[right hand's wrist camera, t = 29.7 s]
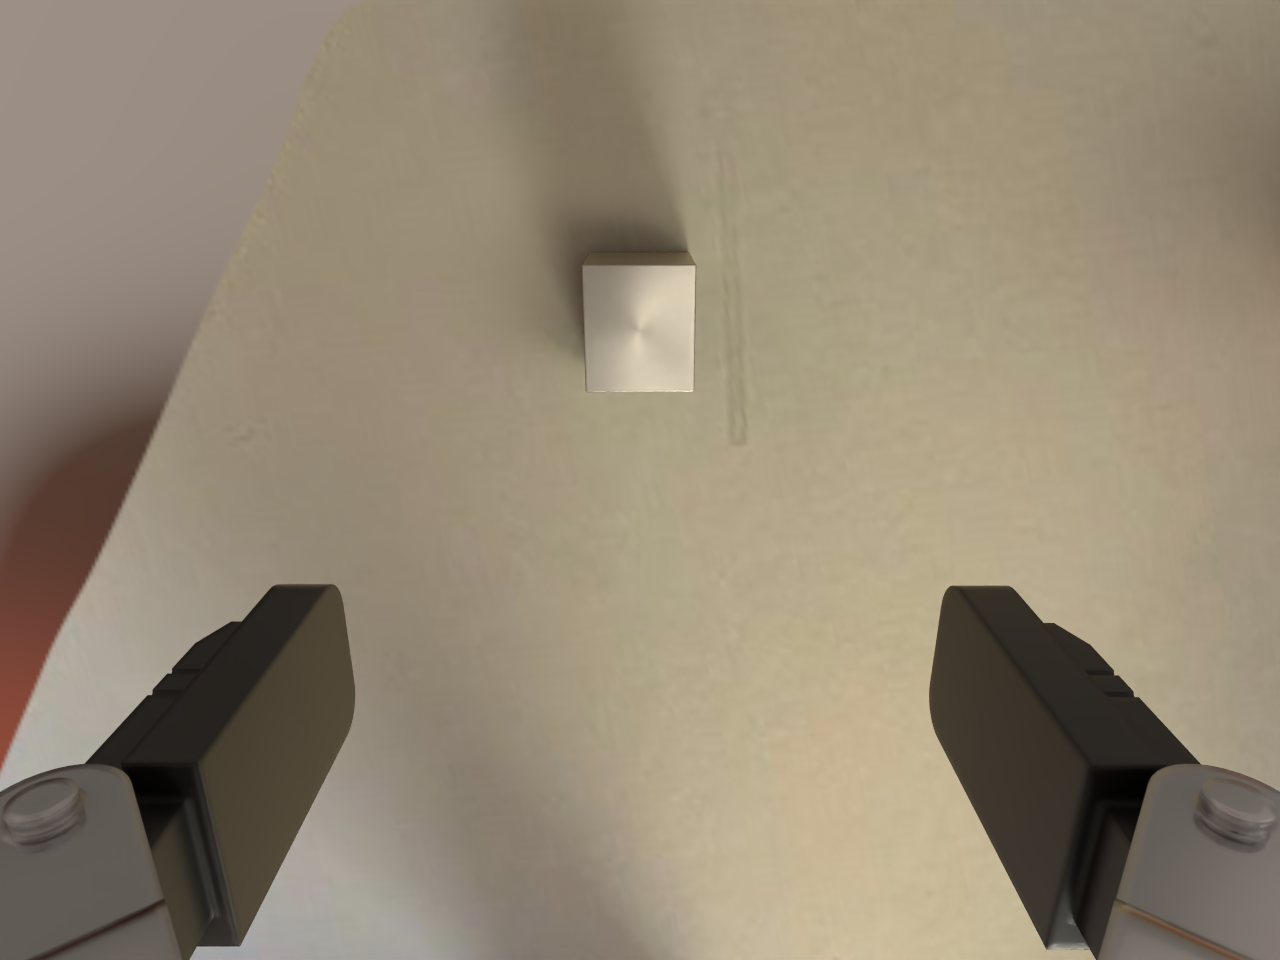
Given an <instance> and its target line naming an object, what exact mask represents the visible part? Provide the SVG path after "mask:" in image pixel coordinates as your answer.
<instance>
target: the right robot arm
mask: <svg viewBox="0 0 1280 960" xmlns="http://www.w3.org/2000/svg"><path fill="white" fill-rule="evenodd" d="M1133 693H1134V692H1133V691H1132V689H1131V688H1130V687H1129V686H1128V685H1127V684H1126V683H1125V682H1124V681H1123V680H1122V679H1121V678H1120V677H1119V676H1114V670H1113V669H1112V668H1111V667H1110V666H1109V665H1108V664H1107V662H1106V661H1105V660H1104V659H1103V658H1102V657H1101V656H1100V655H1099V654H1098V653H1097V652H1096V651H1095V650H1094V648H1093V647H1092V646H1091V645H1090V644H1088V643H1086V642H1085V641H1083V640H1081V639H1080V638H1078V637H1076V636H1075V635H1073V634H1071V633H1070V632H1068V631H1066V630H1065V629H1063V628H1061V627H1060V626H1058V625H1056V624H1055V623H1043V622H1042V621H1041V620H1040V618H1039V617H1038V616H1037V615H1036V614H1035V613H1034V612H1033V610H1032V609H1031V608H1030V607H1029V606H1028V605H1027V604H1026V602H1025V601H1024V600H1023V599H1022V598H1021V597H1020V595H1019V594H1018V593H1017V592H1016V591H1015V590H1014V589H1013V588H1012V587H1010V586H950V587H949V588H948V589H947V590H946V592H945V594H944V597H943V600H942V605H941V612H940V619H939V626H938V633H937V640H936V647H935V653H934V660H933V667H932V674H931V681H930V689H929V703H930V713H931V719H932V723H933V727H934V730H935V733H936V735H937V737H938V739H939V741H940V743H941V745H942V747H943V749H944V751H945V753H946V755H947V757H948V759H949V761H950V763H951V765H952V767H953V769H954V771H955V773H956V774H957V776H958V778H959V780H960V782H961V784H962V786H963V788H964V790H965V792H966V794H967V796H968V798H969V800H970V802H971V804H972V806H973V807H974V809H975V811H976V813H977V815H978V817H979V819H980V821H981V823H982V825H983V827H984V829H985V831H986V833H987V835H988V837H989V839H990V841H991V842H992V844H993V846H994V848H995V850H996V852H997V854H998V856H999V858H1000V860H1001V862H1002V864H1003V866H1004V868H1005V870H1006V872H1007V874H1008V876H1009V877H1010V879H1011V881H1012V883H1013V885H1014V887H1015V889H1016V891H1017V893H1018V895H1019V897H1020V899H1021V901H1022V903H1023V905H1024V907H1025V909H1026V910H1027V912H1028V914H1029V916H1030V918H1031V920H1032V922H1033V924H1034V926H1035V928H1036V930H1037V932H1038V934H1039V936H1040V938H1041V940H1042V942H1043V944H1044V945H1045V947H1046V949H1047V950H1091V952H1092V953H1093V955H1094V957H1095V959H1096V960H1280V792H1279V791H1277V790H1275V789H1274V788H1272V787H1270V786H1268V785H1266V784H1264V783H1262V782H1260V781H1258V780H1255V779H1253V778H1250V777H1248V776H1245V775H1243V774H1240V773H1237V772H1234V771H1230V770H1227V769H1223V768H1218V767H1214V766H1208V765H1201V764H1200V763H1199V762H1198V761H1197V760H1196V758H1195V757H1194V756H1193V755H1192V754H1191V753H1190V752H1189V751H1188V750H1187V749H1186V748H1185V747H1184V746H1183V744H1182V743H1181V742H1180V741H1179V740H1178V739H1177V738H1176V737H1175V736H1174V735H1173V734H1172V733H1171V732H1170V730H1169V729H1168V728H1167V727H1166V726H1165V725H1164V724H1163V723H1162V722H1161V721H1160V720H1159V719H1158V718H1157V716H1156V715H1155V714H1154V713H1153V712H1152V711H1151V710H1150V709H1149V708H1148V707H1147V706H1146V705H1145V703H1144V702H1143V701H1142V700H1141V699H1140V698H1139V697H1134V694H1133ZM354 706H355V684H354V677H353V670H352V663H351V656H350V649H349V642H348V635H347V628H346V621H345V614H344V607H343V601H342V597H341V594H340V591H339V589H338V588H337V587H336V586H335V585H333V584H278V585H275V586H273V587H272V588H271V589H270V590H269V591H268V592H267V593H266V594H265V595H264V597H263V598H262V599H261V600H260V601H259V602H258V604H257V605H256V606H255V607H254V608H253V609H252V610H251V612H250V613H249V614H248V615H247V616H246V617H245V619H244V620H243V621H242V622H230V623H228V624H227V625H225V626H223V627H222V628H220V629H218V630H217V631H215V632H213V633H212V634H210V635H208V636H207V637H205V638H203V639H202V640H200V641H198V642H197V643H195V644H194V645H193V646H192V647H191V649H190V650H189V651H188V652H187V653H186V654H185V655H184V656H183V657H182V658H181V659H180V661H179V662H178V663H177V664H176V665H175V666H174V667H173V668H172V674H167V675H166V676H165V677H164V678H163V679H162V680H161V681H160V682H159V683H158V684H157V686H156V687H155V688H154V689H153V693H152V695H147V696H146V698H145V699H144V700H143V701H142V702H141V703H140V704H139V705H138V706H137V707H136V708H135V710H134V711H133V712H132V713H131V714H130V715H129V716H128V717H127V718H126V719H125V720H124V721H123V723H122V724H121V725H120V726H119V727H118V728H117V729H116V730H115V731H114V732H113V733H112V735H111V736H110V737H109V738H108V739H107V740H106V741H105V742H104V743H103V744H102V745H101V747H100V748H99V749H98V750H97V751H96V752H95V753H94V754H93V755H92V756H91V757H90V758H89V760H88V761H87V762H86V763H85V764H80V765H72V766H66V767H62V768H57V769H53V770H50V771H46V772H43V773H40V774H37V775H35V776H32V777H30V778H27V779H25V780H22V781H20V782H18V783H16V784H14V785H12V786H10V787H8V788H6V789H5V790H3V791H1V792H0V960H189V959H190V957H191V956H192V954H193V952H194V950H195V949H196V947H197V946H240V945H241V943H242V941H243V939H244V937H245V935H246V933H247V932H248V930H249V928H250V926H251V924H252V922H253V920H254V918H255V916H256V914H257V912H258V910H259V908H260V906H261V904H262V902H263V900H264V898H265V896H266V894H267V892H268V890H269V888H270V886H271V884H272V882H273V880H274V878H275V876H276V874H277V873H278V871H279V869H280V867H281V865H282V863H283V861H284V859H285V857H286V855H287V853H288V851H289V849H290V847H291V845H292V843H293V841H294V839H295V837H296V835H297V833H298V831H299V829H300V827H301V825H302V823H303V821H304V819H305V817H306V815H307V813H308V812H309V810H310V808H311V806H312V804H313V802H314V800H315V798H316V796H317V794H318V792H319V790H320V788H321V786H322V784H323V782H324V780H325V778H326V776H327V774H328V772H329V770H330V768H331V766H332V764H333V762H334V760H335V758H336V756H337V754H338V753H339V751H340V749H341V747H342V745H343V743H344V741H345V739H346V737H347V735H348V732H349V730H350V727H351V723H352V719H353V714H354Z"/></svg>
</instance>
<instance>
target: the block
mask: <svg viewBox="0 0 1280 960" xmlns="http://www.w3.org/2000/svg"><path fill="white" fill-rule="evenodd" d="M582 285H583V318H584V351H585V385H586V392H693V391H694V364H695V307H696V264H695V262H694V260H693V258H692V256H691V255H690V253H689V252H616V253H589V254H588V256H587V257H586V259H585V261H584V263H583V265H582Z"/></svg>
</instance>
